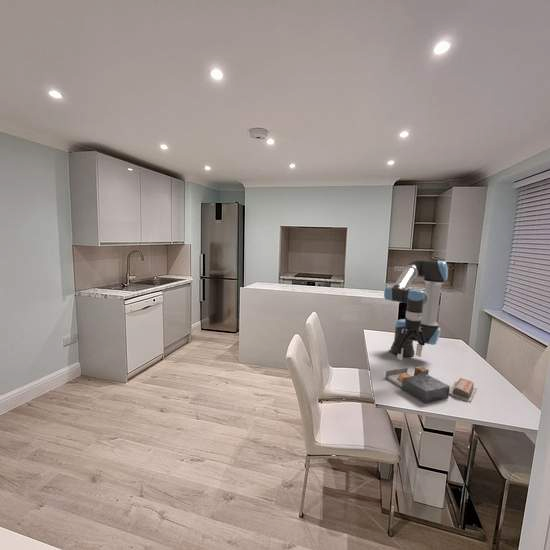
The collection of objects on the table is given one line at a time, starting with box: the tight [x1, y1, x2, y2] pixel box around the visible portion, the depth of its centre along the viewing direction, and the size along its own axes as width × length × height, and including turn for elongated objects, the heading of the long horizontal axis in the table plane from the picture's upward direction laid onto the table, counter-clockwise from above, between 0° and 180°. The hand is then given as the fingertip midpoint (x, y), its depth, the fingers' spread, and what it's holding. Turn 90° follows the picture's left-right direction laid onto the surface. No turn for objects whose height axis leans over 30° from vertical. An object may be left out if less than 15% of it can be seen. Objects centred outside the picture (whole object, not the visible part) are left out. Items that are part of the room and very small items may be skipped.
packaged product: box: [449, 377, 478, 403], centre depth 152 cm, size 18×5×10 cm
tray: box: [385, 367, 413, 388], centre depth 160 cm, size 14×15×4 cm
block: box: [413, 365, 429, 376], centre depth 167 cm, size 5×5×5 cm
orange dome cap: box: [398, 374, 411, 382], centre depth 159 cm, size 8×8×2 cm
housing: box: [401, 374, 451, 404], centre depth 149 cm, size 14×16×6 cm
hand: (409, 357), depth 158 cm, fingers open, 13 cm apart
